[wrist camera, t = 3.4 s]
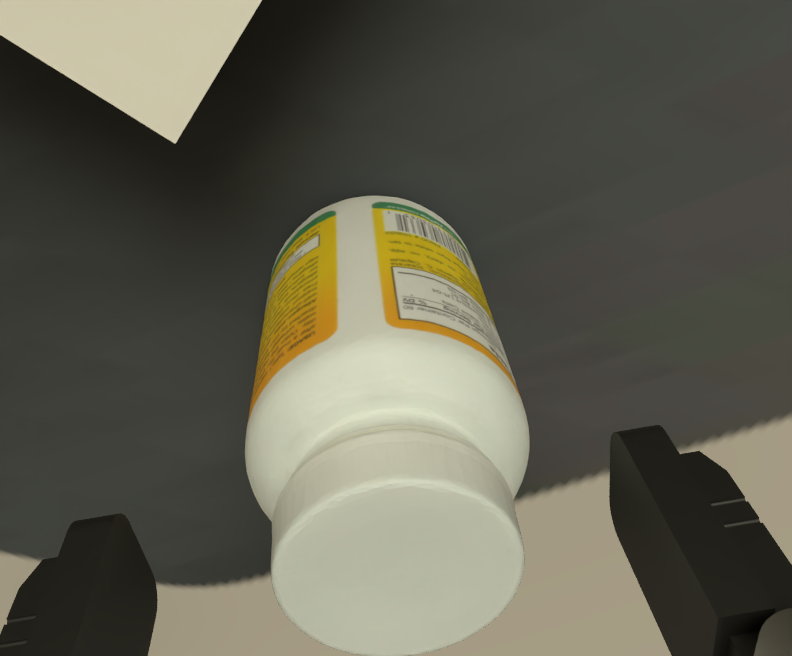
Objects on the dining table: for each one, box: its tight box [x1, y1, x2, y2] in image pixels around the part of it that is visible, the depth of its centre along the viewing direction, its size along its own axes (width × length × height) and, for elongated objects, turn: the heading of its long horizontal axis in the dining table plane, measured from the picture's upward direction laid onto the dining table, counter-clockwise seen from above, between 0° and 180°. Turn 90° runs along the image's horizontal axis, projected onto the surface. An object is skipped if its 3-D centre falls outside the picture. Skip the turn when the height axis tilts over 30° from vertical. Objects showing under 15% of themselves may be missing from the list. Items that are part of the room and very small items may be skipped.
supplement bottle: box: [245, 196, 529, 656], centre depth 16 cm, size 5×5×10 cm
